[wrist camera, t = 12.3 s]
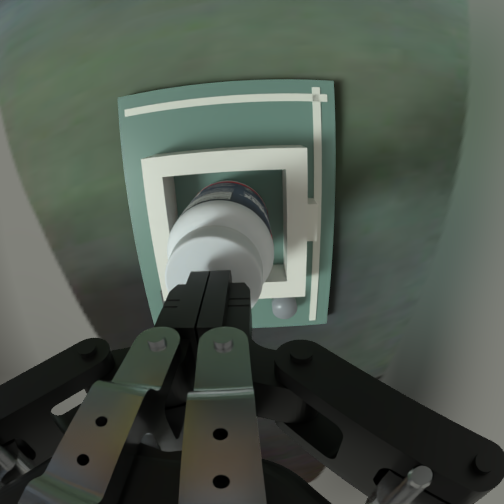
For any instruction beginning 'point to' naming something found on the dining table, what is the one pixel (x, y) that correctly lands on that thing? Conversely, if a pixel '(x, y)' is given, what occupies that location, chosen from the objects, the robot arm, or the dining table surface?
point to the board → (238, 179)
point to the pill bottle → (222, 237)
